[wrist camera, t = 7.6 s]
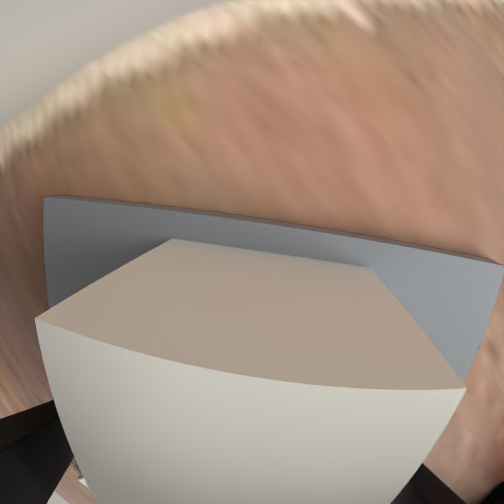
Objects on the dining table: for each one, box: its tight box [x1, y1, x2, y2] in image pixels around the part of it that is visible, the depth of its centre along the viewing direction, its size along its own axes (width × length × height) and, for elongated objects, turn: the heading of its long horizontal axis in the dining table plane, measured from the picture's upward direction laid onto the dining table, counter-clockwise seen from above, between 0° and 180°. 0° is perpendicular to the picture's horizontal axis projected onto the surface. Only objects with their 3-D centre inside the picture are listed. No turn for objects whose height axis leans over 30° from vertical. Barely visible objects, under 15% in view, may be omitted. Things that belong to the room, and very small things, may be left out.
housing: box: [35, 238, 467, 504], centre depth 7 cm, size 10×6×6 cm, turn 173°
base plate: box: [43, 195, 504, 382], centre depth 10 cm, size 17×11×4 cm, turn 83°
